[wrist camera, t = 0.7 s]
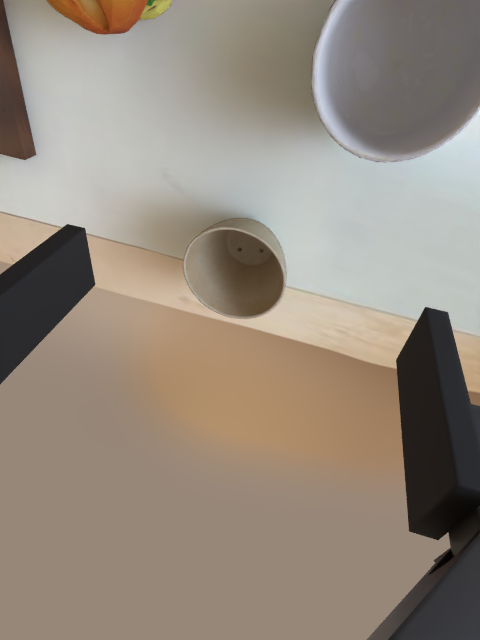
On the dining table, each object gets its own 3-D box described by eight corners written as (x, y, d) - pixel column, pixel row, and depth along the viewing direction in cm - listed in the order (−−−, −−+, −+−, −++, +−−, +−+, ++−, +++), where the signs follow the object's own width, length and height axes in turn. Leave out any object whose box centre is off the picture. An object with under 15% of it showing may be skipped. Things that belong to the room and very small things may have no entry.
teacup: (301, 108, 32) (286, 132, 26) (360, -71, 25) (358, -94, 19) (459, 164, 32) (480, 201, 26) (564, -1, 25) (628, -2, 19)
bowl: (285, 187, 37) (272, 219, 31) (304, 276, 42) (295, 316, 37) (193, 205, 40) (166, 236, 35) (221, 285, 46) (202, 322, 40)
